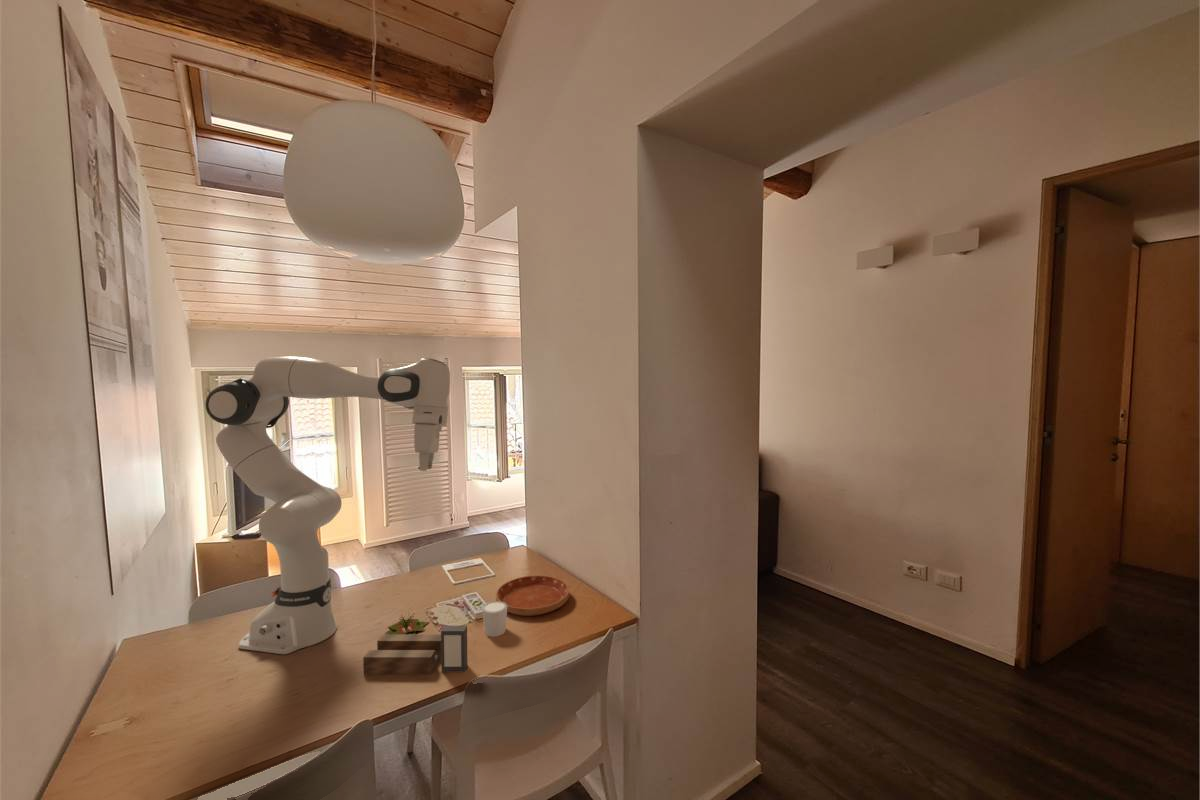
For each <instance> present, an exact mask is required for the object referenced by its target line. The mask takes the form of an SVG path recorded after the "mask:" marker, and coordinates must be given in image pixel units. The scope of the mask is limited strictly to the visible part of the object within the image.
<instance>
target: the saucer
mask: <svg viewBox="0 0 1200 800" xmlns="http://www.w3.org/2000/svg"><path fill="white" fill-rule="evenodd" d="M569 597H570V587H569V586H568V584H567V583H566V581H564V580H563V579H560V578H558V577H554V576H549V575H528V576H522V577H516V578H514V579H511V580H509V581H506V582H505V583H503V584H502V585H500V586H499V587H498V589H497V590H496V592H495V601H501V602H504V603H506V604H507V613H510V614H513V615H517V616H522V617H523V616H524V617H526V616H527V617H528V616H529V617H531V616H532V617H535V616H541V615H545V614H547V613H551V612H553V611H555V610H556V609H559V608H561V607H562V606H564V604H565V603H566V602H567V601H568V599H569Z"/></svg>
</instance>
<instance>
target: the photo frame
mask: <svg viewBox="0 0 1200 800" xmlns="http://www.w3.org/2000/svg"><path fill="white" fill-rule="evenodd" d="M481 565H483V566H484V567H485V568H486V569H487V571H488V572H489V573H490V574H487V575H482V576H478V577H473V578H469V579H468V578H467V579H464V580H458V581H455V580H454V579H453V577H452V576H451V574H450V573H449V572H450V571H456V570H462V569H465V568H470V567H476V566H481ZM441 568H442V570H443V571H444V573H445V575H446V576H447V577H448V578H449V580H450V582H451V584H452V585H453V586H455V585H458V584H459V585H460V584H463V583H465V584H466V583H468V582H472V581H478V580H482V579H483V580H484V579H488V578H492V577H496V574H495V572H494V571H493V570H492V569H491V568H490V567H489V566H488V564H486V562H485V561H484V560H483V559H482V558H481V557H479V558H474V559H468V560H462V561H459V562H454V563H452V562H451V563H448V564H444V565H441Z"/></svg>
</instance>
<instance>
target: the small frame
mask: <svg viewBox="0 0 1200 800" xmlns="http://www.w3.org/2000/svg"><path fill="white" fill-rule="evenodd" d="M440 635H441V657H440V659H441V673H465V672H466V670H467V668H468V625H444V626H443V628H441V630H440Z"/></svg>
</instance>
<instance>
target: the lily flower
mask: <svg viewBox="0 0 1200 800" xmlns="http://www.w3.org/2000/svg"><path fill="white" fill-rule="evenodd" d="M400 615H401V616H400V618H399V621H397V622H396V623H393V624H392V625H389V626H388V628H389V630H387V631H386V632H385V633H384V634H407V633H409V632H410V633H411V634H412V635H417V634H416V633H417V631H418V632H421V631H422V632H426V629H425V628H424V626H426V625H427V624H429V623H430V621H429V622H428V621H420V620H419V619H418V618H414V617H415V616H414V615H415V613H412V615H410V612H409V613H408V615H407V617H408V618H405V617H406V614H405V616H403V614H400ZM409 615H410V616H409ZM409 627H410V629H409V630H408V628H409ZM403 629H404V630H403ZM405 630H407V631H405Z"/></svg>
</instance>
